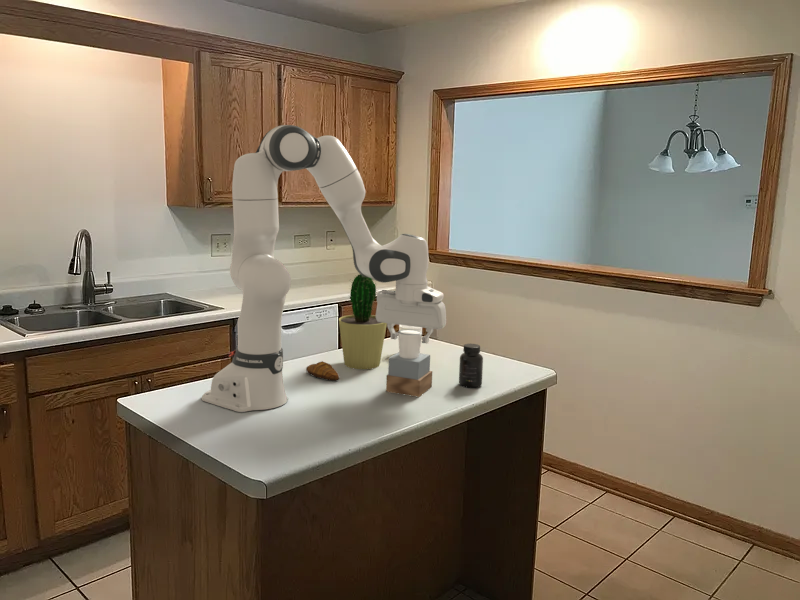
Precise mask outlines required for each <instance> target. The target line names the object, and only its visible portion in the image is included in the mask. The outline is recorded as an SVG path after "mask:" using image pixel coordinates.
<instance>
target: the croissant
mask: <svg viewBox="0 0 800 600" xmlns="http://www.w3.org/2000/svg"><path fill="white" fill-rule="evenodd" d="M305 369H306V372H307V373H308V374H309V375H310V376H313V377H315V378H316V379H321V380H326V381H329V382H330V381H332V382H338V381H339V380H340V375H339V373H338V372H337V370H336V369H335V368H334V367H333V366H332V365H331V364H330V363H328V362H326V361H323V360H321V361H318V362H317V363H312V364H310V365H307V366H306V367H305Z"/></svg>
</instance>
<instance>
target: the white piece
mask: <svg viewBox="0 0 800 600" xmlns="http://www.w3.org/2000/svg"><path fill="white" fill-rule="evenodd" d="M397 332H398V335H397V336H398V338H397V339H398V350H399V351H398V352H399V356H400V357H402V358H407V359H414V358H418V357H419V353H421V347H420V346H421V345H422V337H423V331H422V332H421V331H417V330H400V331H399V330H398V331H397Z"/></svg>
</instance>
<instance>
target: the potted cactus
mask: <svg viewBox="0 0 800 600" xmlns="http://www.w3.org/2000/svg"><path fill="white" fill-rule="evenodd" d="M353 278H354V279H353V280H352V279H351V280H349V282H350V283H351V285H349V287H350V292H348V294H349V299H350V300H349V299H348V300H347V301H348V302H349V303H348V304H351V310H352V311H350V312H351V314H349V315H344V316H341V317H339V318H338V322H339V323H338V325H339V332H340V341H341V346H342V347H341V348H342V355H343V356H342V357H343V363H344V366H345V365H346V366H345V367H347V368H349V369H353V368H354V369H353V370H372V368H373V369H376V368H378V367H379V366H380V364H381V359H382V354H383V353H382V352H383V346H384V342H385V337H386V336H385V335H386V330H387V323H382V322H378V321H377V320H376V314H375V315H374V314H373V315H372V313H373V310H375V308H374V305H375V300H376V298H377V291H378V289H377V283H374V281H375V280H373V279H371V278H367V277H364V276H362V275H361V274H360V273H359V272H358V271H357V275H355V276H353Z"/></svg>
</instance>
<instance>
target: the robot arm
mask: <svg viewBox="0 0 800 600" xmlns="http://www.w3.org/2000/svg"><path fill="white" fill-rule="evenodd" d="M304 169H306V170H307V171H308V172H309V173H310V174H311V176H312V177H313V178H314V180H315V182H316V185H317V186H318V188H319V190H320V192H321V194H322V196H323V197H324V199H325V201H326V202H327V204H328V205H329V206H330V208H331V210H332V211H333V212H334V213H335V215H336V217H337V218H338V220H339V222H340V225H341V226H342V228H343V232H344V233H345V235H346V237H347V239H348V241H349V244H350V246H351V249H352V257H353V260H352V261H353V265H354V268H355V270H356V271H357V272H358V274H359V275H360V274H361V275H362V276H364V277H367V278H371V279H373V280H374V281H375V282H378V283H382V284H383V283H392V282H395V290H387V289H382V290H380V291H378V293H376V303H377V305H376V308H375V309H376V310H375V316H376V320H377V321H378V322H382V323H387V325H386V328H387V329H388V332H389V333H390V339H391V340H397V339H398V331H396V330H395V328H394V326H395V325H398V326H399V325H406V326H414V327H422V329H423V328H424V329H425V332H427V333H426V334H425V335H424V336H423V335H422V338H421V344H426V345H427V344H429V341H430V336H431V335H432V333H433V332H434V330H442V329H443V328H444V327H445V326H446V325H447V311H446V310H447V309H446V308H447V307H446V305H445V303H444V302H443V300H444V296H445V294H444V293H443V292H442V291H440V290H437V289H435V288H433V287H431V286H429V285H428V283H429V282H428V278H427V273H428V270H429V245H428V242H427V241H428V240H426V239H425V238H424V237H422V236H417V235H414V234H409V233H401V234H400V235H399V236H398V237H396V238H395V239H394V240H392V241H390V242H388V243H386V244H383V245H382V244H380V243H378V242H377V240H375V239H374V238H373V236H372V233H371V231H370V229H369V227H368V225H367V223H366V220H365V218H364V215H363V213H362V204H363V202H364V199H365V197H366V188H365V185H364V181H363V178H362V176H361V173H360V171H359V170H358V167H357V166H356V163H355V162H354V160H353V159H352V156H351V155H350V153H349V151H348V150H347V149H346V148H345V146H344V145H343V143H342V142H341V141H340V140H339V138H337V137H335V136H333V135H321V136H318V137H316V136H314V135H313V134H311V133H310V132H308V131H306V130H305V129H304V128H302V127H300V126H298V125H294V124H293V125H292V124H281V125H278V126H275V127H273V128H272V129H270V130H269V131H267V132H266V133H265V134H264V136H263V137H262V139H261V141H260V144H259V146H258V147H257V149H256V151H255V152H249V153H245V154H243V155H241V156H239V157H238V158H237V159H236V160H235V162H234V165H233V172H232V174H233V175H232V184H231V185H232V187H231V190H232V192H231V193H232V195H231V196H232V197H231V198H232V209H233V210H232V211H233V212H232V213H233V216H232V217H233V228H234V229H233V242H232V249H231V250H232V251H231V264H230V267H229V274H230V277H231V279H232V282H233V284H234V285H235V287H237V288H238V289H239V290H241V292H242V301H241V302H242V303H241V307H240V308H241V309H240V312H239V313H240V314H239V316H238V319H237V348H236V349H234V350H233V351H229V355H228V357H229V358H230V357H233V358H232V359H231V362H230V363H229V364H227V365H226V366H225V367H223V368H222V369H221V370H220V371H218V372H217V373H215V374H214V376H213V378H212V380H211V384H210V385H211V386H210V389H208V390H207V391H206V392H204V393H203V394H202V396H201V401H203V402H206V403H208V404H212V405H214V406H215V405H216V406H218V407H222V408H225V409H228V410H231V411H235V412H237V413H246V412H250V411H262V410H270V409H274V408H278V407H282V406H283V405H285V404H286V403H287V402H288V399H289V398H288V396H287V394H286V393H287V392H286V389H285V383H284V378H283V368H284V350H283V347H282V320H283V311H284V307H285V303H286V298H287V294H288V293H289V290H290V288H291V284H292V277H291V274H290V272H289V271H288V269H287V268H286V266H285V265H284V264H283V263H282V262H281V261H280V260H279V259H276V258H275V247H276V241H277V240H276V239H277V236H278V233H279V230H280V223H279V222H280V220H279V218H280V217H279V199H278V198H279V195H278V182H279V178H280V175H281V174H282V173H283V172H293V171H300V170H304ZM373 280H372V281H373Z"/></svg>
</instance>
